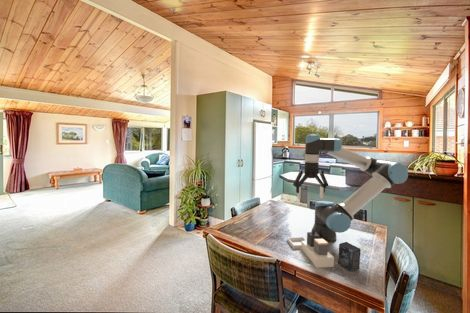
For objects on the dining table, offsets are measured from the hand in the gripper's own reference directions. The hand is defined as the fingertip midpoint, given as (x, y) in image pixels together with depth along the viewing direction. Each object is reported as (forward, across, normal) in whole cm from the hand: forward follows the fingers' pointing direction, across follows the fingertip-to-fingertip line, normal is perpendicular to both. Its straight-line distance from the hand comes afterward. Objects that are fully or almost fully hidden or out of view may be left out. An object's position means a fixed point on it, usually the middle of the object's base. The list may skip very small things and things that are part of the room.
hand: (310, 198), depth 126 cm
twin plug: (+29, +1, +8) cm, 30 cm away
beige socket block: (+29, -2, +12) cm, 31 cm away
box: (+29, -11, +21) cm, 38 cm away
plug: (+28, +1, +16) cm, 32 cm away
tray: (+29, +5, -2) cm, 29 cm away
